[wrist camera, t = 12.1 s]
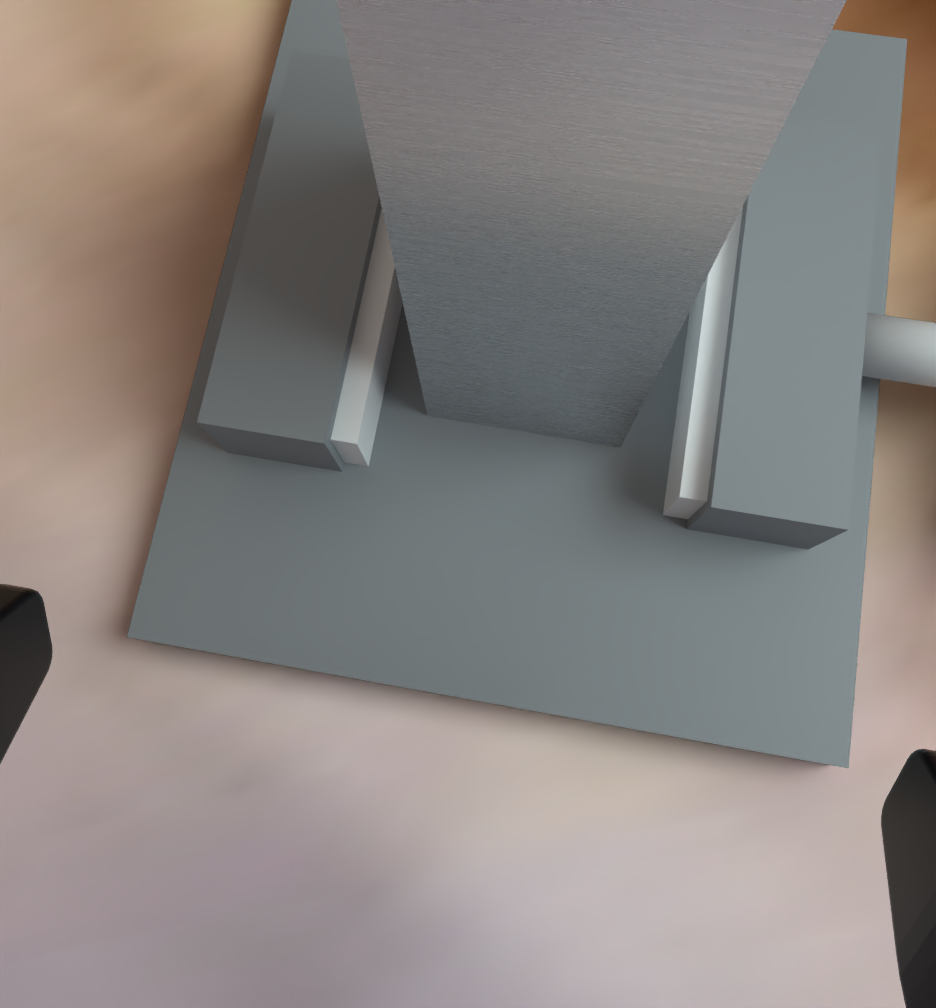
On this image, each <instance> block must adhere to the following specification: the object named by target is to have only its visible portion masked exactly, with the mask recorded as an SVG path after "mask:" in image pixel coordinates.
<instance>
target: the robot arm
mask: <svg viewBox="0 0 936 1008" xmlns="http://www.w3.org/2000/svg"><path fill="white" fill-rule="evenodd" d="M51 660H52V643H51V638H50V633H49V628H48V623H47V617H46V612H45V607H44V602H43V599H42V597H41V595H40V594H39V593H38V592H37V591H35V590H33V589H29V588H24V587H18V586H13V585H7V584H0V764H1V762H2V760H3V758H4V756H5V754H6V752H7V750H8V748H9V746H10V744H11V742H12V740H13V738H14V736H15V734H16V732H17V731H18V729H19V727H20V725H21V723H22V721H23V719H24V717H25V715H26V713H27V711H28V709H29V707H30V705H31V703H32V701H33V700H34V698H35V696H36V694H37V692H38V690H39V688H40V686H41V684H42V682H43V680H44V678H45V676H46V674H47V672H48V670H49V667H50V664H51ZM881 827H882V836H883V845H884V853H885V862H886V870H887V879H888V887H889V896H890V905H891V913H892V922H893V930H894V939H895V947H896V955H897V962H898V969H899V976H900V981H901V986H902V991H903V995H904V1000H905V1005H906V1008H936V751H933V750H927V749H919V750H916V751H914V752H913V753H912V754H911V755H910V756H909V758H908V759H907V761H906V763H905V765H904V767H903V769H902V770H901V772H900V774H899V776H898V778H897V780H896V781H895V783H894V785H893V787H892V789H891V791H890V792H889V794H888V796H887V798H886V800H885V802H884V806H883V809H882V816H881Z"/></svg>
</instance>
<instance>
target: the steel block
mask: <svg viewBox="0 0 936 1008" xmlns="http://www.w3.org/2000/svg"><path fill="white" fill-rule="evenodd" d="M336 1H337V6H338V10H339V15H340V19H341V24H342V28H343V33H344V38H345V42H346V47H347V51H348V56H349V60H350V65H351V69H352V74H353V79H354V83H355V88H356V92H357V97H358V101H359V106H360V110H361V115H362V120H363V124H364V129H365V133H366V138H367V142H368V147H369V151H370V156H371V160H372V165H373V170H374V174H375V179H376V183H377V188H378V192H379V197H380V201H381V206H382V211H383V215H384V220H385V224H386V229H387V233H388V238H389V242H390V247H391V252H392V256H393V261H394V265H395V270H396V274H397V279H398V283H399V288H400V292H401V297H402V302H403V306H404V311H405V315H406V320H407V324H408V329H409V333H410V338H411V343H412V347H413V352H414V356H415V361H416V365H417V370H418V374H419V379H420V384H421V388H422V393H423V397H424V402H425V406H426V411H427V415H428V416H431V417H437V418H443V419H449V420H455V421H462V422H468V423H474V424H480V425H486V426H492V427H499V428H505V429H511V430H517V431H523V432H529V433H535V434H542V435H548V436H554V437H560V438H566V439H572V440H579V441H585V442H591V443H597V444H603V445H609V446H615V447H621V446H622V444H623V442H624V440H625V438H626V436H627V434H628V432H629V430H630V428H631V426H632V424H633V423H634V421H635V419H636V417H637V415H638V413H639V411H640V409H641V407H642V405H643V403H644V401H645V399H646V397H647V395H648V393H649V391H650V389H651V387H652V385H653V383H654V381H655V379H656V377H657V375H658V373H659V371H660V369H661V367H662V365H663V363H664V361H665V359H666V357H667V355H668V353H669V351H670V349H671V347H672V345H673V343H674V341H675V339H676V337H677V335H678V333H679V331H680V329H681V327H682V325H683V323H684V321H685V319H686V317H687V315H688V313H689V311H690V309H691V307H692V305H693V303H694V301H695V299H696V298H697V296H698V294H699V292H700V290H701V288H702V286H703V284H704V282H705V280H706V278H707V276H708V274H709V272H710V270H711V268H712V266H713V264H714V262H715V260H716V258H717V256H718V254H719V252H720V250H721V248H722V246H723V244H724V242H725V240H726V238H727V236H728V234H729V232H730V230H731V228H732V226H733V224H734V222H735V220H736V218H737V216H738V214H739V212H740V210H741V208H742V206H743V204H744V202H745V200H746V198H747V196H748V194H749V192H750V190H751V188H752V186H753V184H754V182H755V180H756V178H757V176H758V174H759V173H760V171H761V169H762V167H763V165H764V163H765V161H766V159H767V157H768V155H769V153H770V151H771V149H772V147H773V145H774V143H775V141H776V139H777V137H778V135H779V133H780V131H781V129H782V127H783V125H784V123H785V121H786V119H787V117H788V115H789V113H790V111H791V109H792V107H793V105H794V103H795V101H796V99H797V97H798V95H799V93H800V91H801V89H802V87H803V85H804V83H805V81H806V79H807V77H808V75H809V73H810V71H811V69H812V67H813V65H814V63H815V61H816V59H817V57H818V55H819V53H820V51H821V49H822V48H823V46H824V44H825V42H826V40H827V38H828V36H829V34H830V32H831V30H832V28H833V26H834V24H835V22H836V20H837V18H838V16H839V14H840V12H841V10H842V8H843V6H844V4H845V2H846V0H336Z"/></svg>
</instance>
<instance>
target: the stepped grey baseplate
mask: <svg viewBox="0 0 936 1008" xmlns="http://www.w3.org/2000/svg"><path fill="white" fill-rule="evenodd" d="M906 47H907V39H902V38H894V37H886V36H878V35H871V34H863V33H855V32H847V31H840V30H831V32H830V34H829V36H828V38H827V40H826V42H825V44H824V46H823V48H822V49H821V51H820V53H819V55H818V57H817V59H816V61H815V63H814V65H813V67H812V69H811V71H810V73H809V75H808V77H807V79H806V81H805V83H804V85H803V87H802V89H801V91H800V93H799V95H798V97H797V99H796V101H795V103H794V105H793V107H792V109H791V111H790V113H789V115H788V117H787V119H786V121H785V123H784V125H783V127H782V129H781V131H780V133H779V135H778V137H777V139H776V141H775V143H774V145H773V147H772V149H771V151H770V153H769V155H768V157H767V159H766V161H765V163H764V165H763V167H762V169H761V171H760V173H759V174H758V176H757V178H756V180H755V182H754V184H753V186H752V188H751V190H750V192H749V194H748V196H747V198H746V200H745V202H744V204H743V206H742V208H741V210H740V212H739V214H738V216H737V218H736V220H735V222H734V224H733V226H732V228H731V230H730V232H729V234H728V236H727V238H726V240H725V242H724V244H723V246H722V248H721V250H720V252H719V254H718V256H717V258H716V260H715V262H714V264H713V266H712V268H711V270H710V272H709V274H708V276H707V278H706V280H705V282H704V284H703V286H702V288H701V290H700V292H699V294H698V296H697V298H696V299H695V301H694V303H693V305H692V307H691V309H690V311H689V313H688V315H687V317H686V319H685V321H684V323H683V325H682V327H681V329H680V331H679V333H678V335H677V337H676V339H675V341H674V343H673V345H672V347H671V349H670V351H669V353H668V355H667V357H666V359H665V361H664V363H663V365H662V367H661V369H660V371H659V373H658V375H657V377H656V379H655V381H654V383H653V385H652V387H651V389H650V391H649V393H648V395H647V397H646V399H645V401H644V403H643V405H642V407H641V409H640V411H639V413H638V415H637V417H636V419H635V421H634V423H633V424H632V426H631V428H630V430H629V432H628V434H627V436H626V438H625V440H624V442H623V444H622V446H621V447H615V446H609V445H603V444H597V443H591V442H585V441H579V440H572V439H566V438H560V437H554V436H548V435H542V434H535V433H529V432H523V431H517V430H511V429H505V428H499V427H492V426H486V425H480V424H474V423H468V422H462V421H455V420H449V419H443V418H437V417H431V416H428V415H427V411H426V406H425V402H424V397H423V393H422V388H421V384H420V379H419V374H418V370H417V365H416V361H415V356H414V352H413V347H412V343H411V338H410V333H409V329H408V324H407V320H406V315H405V311H404V306H403V302H402V297H401V292H400V288H399V283H398V279H397V274H396V270H395V265H394V261H393V256H392V252H391V247H390V242H389V238H388V233H387V229H386V224H385V220H384V215H383V211H382V206H381V201H380V197H379V192H378V188H377V183H376V179H375V174H374V170H373V165H372V160H371V156H370V151H369V147H368V142H367V138H366V133H365V129H364V124H363V120H362V115H361V110H360V106H359V101H358V97H357V92H356V88H355V83H354V79H353V74H352V69H351V65H350V60H349V56H348V51H347V47H346V42H345V38H344V33H343V28H342V24H341V19H340V15H339V10H338V6H337V1H336V0H292V2H291V5H290V9H289V13H288V17H287V21H286V25H285V29H284V32H283V36H282V40H281V44H280V48H279V52H278V56H277V59H276V63H275V67H274V71H273V75H272V79H271V83H270V86H269V90H268V94H267V98H266V102H265V106H264V110H263V113H262V117H261V121H260V125H259V129H258V133H257V137H256V141H255V144H254V148H253V152H252V156H251V160H250V164H249V168H248V171H247V175H246V179H245V183H244V187H243V191H242V195H241V198H240V202H239V206H238V210H237V214H236V218H235V222H234V225H233V229H232V233H231V237H230V241H229V245H228V249H227V252H226V256H225V260H224V264H223V268H222V272H221V276H220V279H219V283H218V287H217V291H216V295H215V299H214V303H213V307H212V310H211V314H210V318H209V322H208V326H207V330H206V334H205V337H204V341H203V345H202V349H201V353H200V357H199V361H198V364H197V368H196V372H195V376H194V380H193V384H192V388H191V391H190V395H189V399H188V403H187V407H186V411H185V415H184V418H183V422H182V426H181V430H180V434H179V438H178V442H177V445H176V449H175V453H174V457H173V461H172V465H171V469H170V473H169V476H168V480H167V484H166V488H165V492H164V496H163V500H162V503H161V507H160V511H159V515H158V519H157V523H156V527H155V530H154V534H153V538H152V542H151V546H150V550H149V554H148V557H147V561H146V565H145V569H144V573H143V577H142V581H141V584H140V588H139V592H138V596H137V600H136V604H135V608H134V611H133V615H132V619H131V623H130V627H129V631H128V635H127V637H129V638H134V639H139V640H145V641H150V642H156V643H161V644H167V645H172V646H178V647H183V648H189V649H194V650H200V651H205V652H211V653H216V654H222V655H227V656H233V657H238V658H244V659H249V660H255V661H260V662H266V663H271V664H277V665H282V666H288V667H293V668H299V669H304V670H310V671H315V672H321V673H326V674H332V675H337V676H343V677H348V678H354V679H359V680H365V681H370V682H376V683H381V684H387V685H392V686H398V687H403V688H409V689H414V690H420V691H425V692H431V693H437V694H442V695H448V696H453V697H459V698H464V699H470V700H475V701H481V702H486V703H492V704H497V705H503V706H508V707H514V708H519V709H525V710H530V711H536V712H541V713H547V714H552V715H558V716H563V717H569V718H574V719H580V720H585V721H591V722H596V723H602V724H607V725H613V726H618V727H624V728H629V729H635V730H640V731H646V732H651V733H657V734H662V735H668V736H673V737H679V738H684V739H690V740H695V741H701V742H706V743H712V744H717V745H723V746H728V747H734V748H739V749H745V750H750V751H756V752H761V753H767V754H772V755H778V756H783V757H789V758H794V759H800V760H805V761H811V762H816V763H822V764H827V765H833V766H839V767H844V768H849V756H850V743H851V731H852V718H853V706H854V694H855V681H856V669H857V656H858V644H859V631H860V619H861V607H862V594H863V582H864V569H865V557H866V544H867V532H868V520H869V507H870V495H871V482H872V470H873V457H874V445H875V433H876V420H877V408H878V395H879V383H880V379H885V380H891V381H898V382H905V383H911V384H918V385H924V386H931V387H936V323H933V322H926V321H920V320H913V319H906V318H899V317H893V316H886V315H885V308H886V296H887V283H888V271H889V259H890V246H891V234H892V221H893V209H894V196H895V184H896V172H897V159H898V147H899V134H900V122H901V109H902V97H903V85H904V72H905V60H906Z"/></svg>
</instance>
